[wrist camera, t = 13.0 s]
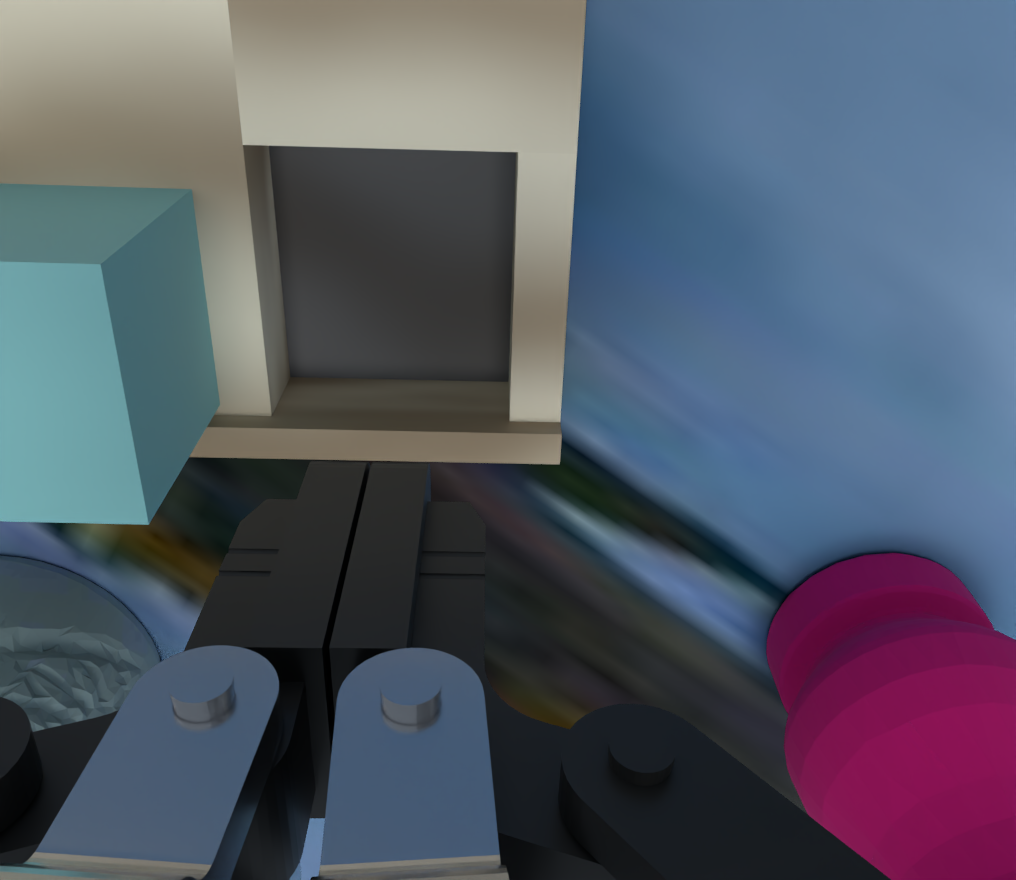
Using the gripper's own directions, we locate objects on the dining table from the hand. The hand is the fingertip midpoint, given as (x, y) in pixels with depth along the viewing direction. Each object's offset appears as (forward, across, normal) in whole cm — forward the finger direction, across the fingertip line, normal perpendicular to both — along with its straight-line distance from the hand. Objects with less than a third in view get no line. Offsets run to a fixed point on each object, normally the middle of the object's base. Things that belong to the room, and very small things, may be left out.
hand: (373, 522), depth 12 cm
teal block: (+9, +7, 0) cm, 12 cm away
